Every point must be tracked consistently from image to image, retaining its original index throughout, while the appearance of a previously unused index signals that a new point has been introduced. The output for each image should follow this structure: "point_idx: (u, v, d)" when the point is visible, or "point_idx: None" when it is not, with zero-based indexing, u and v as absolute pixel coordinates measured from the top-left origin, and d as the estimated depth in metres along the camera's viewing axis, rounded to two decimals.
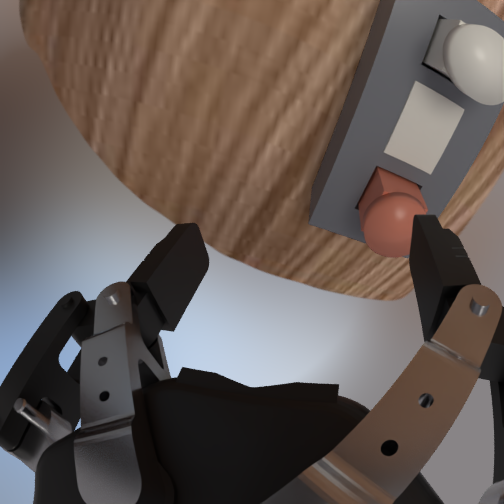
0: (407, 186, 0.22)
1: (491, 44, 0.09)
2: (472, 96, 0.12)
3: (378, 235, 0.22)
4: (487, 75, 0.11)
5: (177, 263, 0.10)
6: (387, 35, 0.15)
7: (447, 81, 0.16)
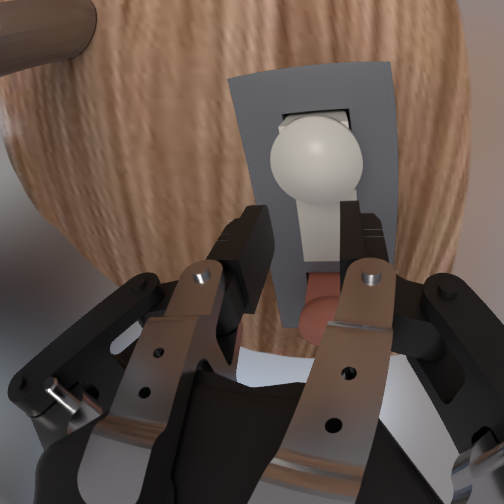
0: (338, 280, 0.27)
1: (309, 137, 0.16)
2: (319, 203, 0.18)
3: (315, 335, 0.26)
4: (322, 173, 0.17)
5: (257, 243, 0.10)
6: (251, 167, 0.23)
7: None
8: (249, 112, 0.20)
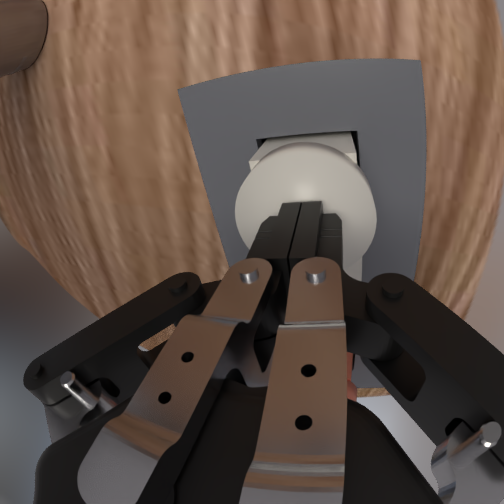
0: None
1: (293, 183, 0.10)
2: None
3: None
4: None
5: None
6: (216, 212, 0.17)
7: None
8: (210, 137, 0.14)
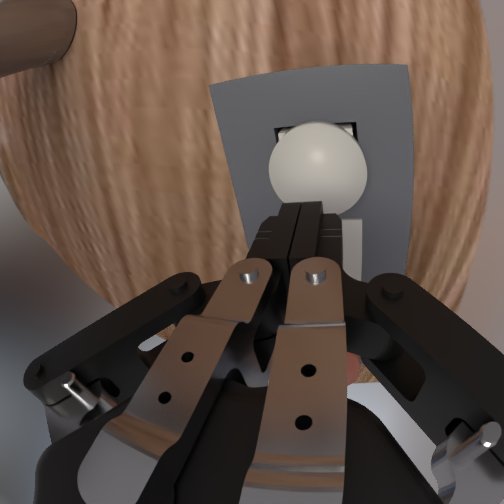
0: None
1: (310, 145, 0.15)
2: None
3: None
4: (323, 184, 0.16)
5: None
6: (238, 190, 0.20)
7: None
8: (235, 126, 0.17)
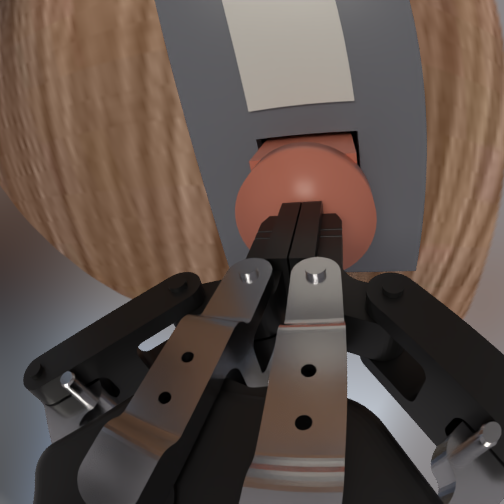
0: (320, 138, 0.13)
1: None
2: None
3: None
4: None
5: None
6: None
7: None
8: None
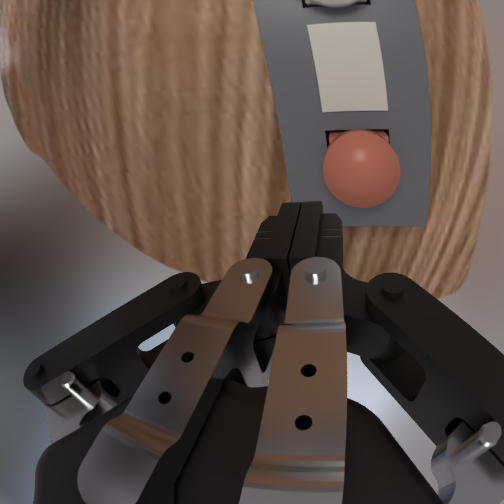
0: (364, 129, 0.20)
1: None
2: (336, 1, 0.13)
3: (344, 185, 0.20)
4: None
5: None
6: (257, 4, 0.15)
7: None
8: None
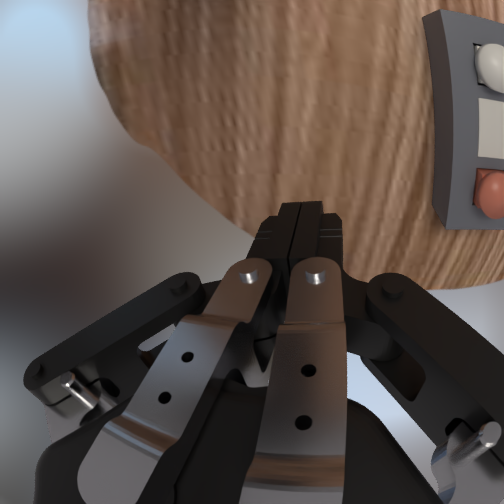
0: None
1: (497, 53, 0.15)
2: (501, 91, 0.17)
3: (489, 205, 0.25)
4: (503, 74, 0.16)
5: None
6: (452, 72, 0.20)
7: None
8: (454, 35, 0.17)
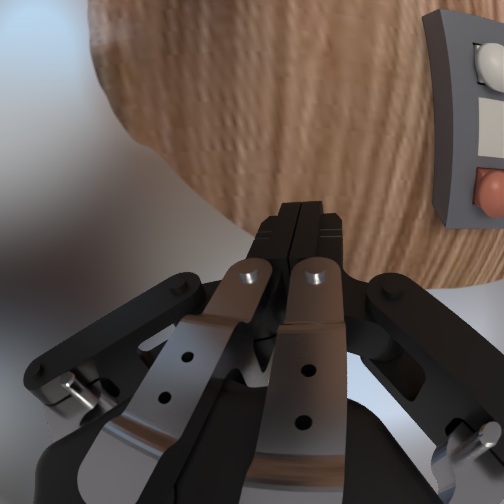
0: None
1: (497, 53, 0.15)
2: (501, 90, 0.17)
3: (489, 204, 0.25)
4: (503, 73, 0.16)
5: None
6: (452, 72, 0.20)
7: None
8: (453, 34, 0.17)
